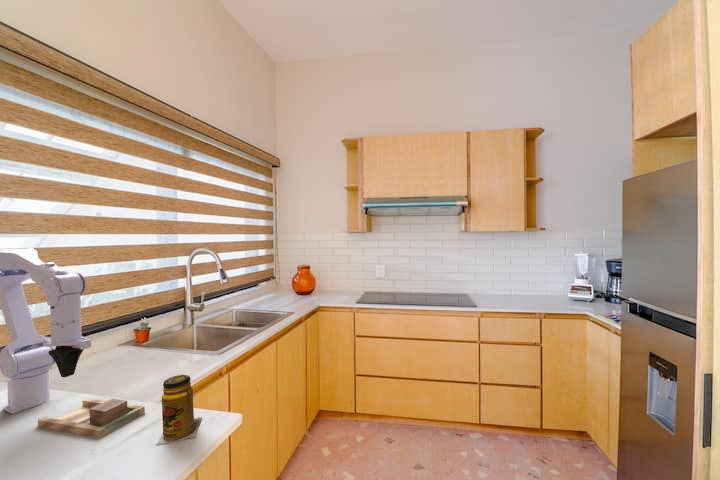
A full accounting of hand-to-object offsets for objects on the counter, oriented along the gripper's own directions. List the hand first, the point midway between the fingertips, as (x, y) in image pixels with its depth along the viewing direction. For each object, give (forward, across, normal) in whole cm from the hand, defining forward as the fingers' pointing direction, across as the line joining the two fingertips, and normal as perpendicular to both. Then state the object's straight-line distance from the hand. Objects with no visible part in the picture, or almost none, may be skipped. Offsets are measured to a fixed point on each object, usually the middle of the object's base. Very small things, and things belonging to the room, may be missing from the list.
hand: (67, 375), depth 81 cm
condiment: (+10, +35, +1) cm, 36 cm away
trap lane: (+10, +11, -2) cm, 15 cm away
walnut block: (+9, +16, -2) cm, 19 cm away
